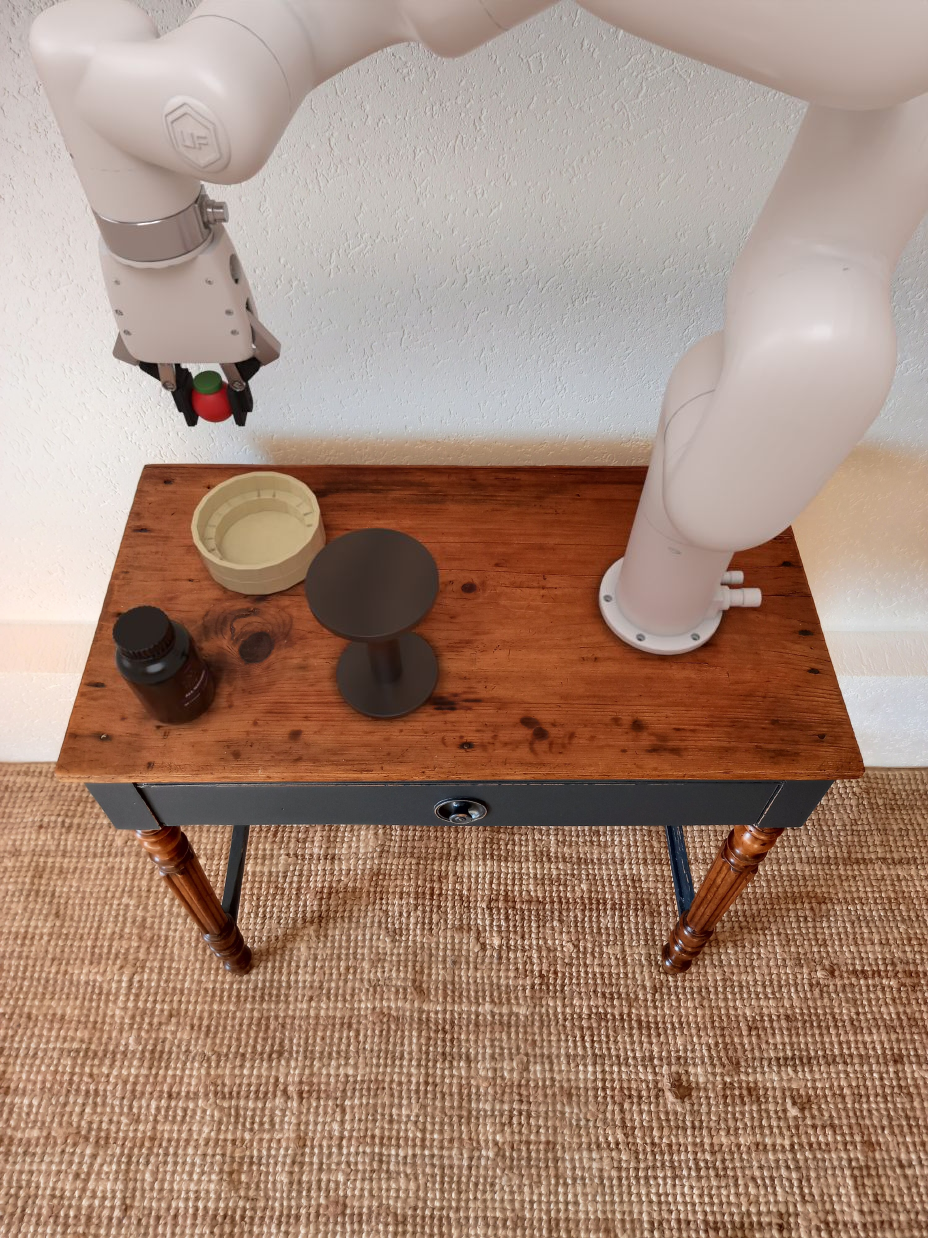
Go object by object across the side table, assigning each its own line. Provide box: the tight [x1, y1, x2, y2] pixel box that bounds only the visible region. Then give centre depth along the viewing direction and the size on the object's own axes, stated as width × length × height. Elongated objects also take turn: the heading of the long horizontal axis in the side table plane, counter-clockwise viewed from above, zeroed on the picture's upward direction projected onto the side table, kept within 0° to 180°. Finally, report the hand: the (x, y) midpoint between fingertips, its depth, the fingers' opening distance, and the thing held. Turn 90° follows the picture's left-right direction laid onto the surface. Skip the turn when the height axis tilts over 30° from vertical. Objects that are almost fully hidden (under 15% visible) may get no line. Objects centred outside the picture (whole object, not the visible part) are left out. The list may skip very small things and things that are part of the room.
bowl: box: [190, 471, 327, 595], centre depth 86 cm, size 13×13×5 cm
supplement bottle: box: [111, 605, 216, 725], centre depth 73 cm, size 7×7×12 cm
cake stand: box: [304, 527, 440, 721], centre depth 72 cm, size 11×11×16 cm
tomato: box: [191, 369, 233, 424], centre depth 70 cm, size 4×4×4 cm
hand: (218, 414), depth 72 cm, fingers closed on tomato, 3 cm apart
